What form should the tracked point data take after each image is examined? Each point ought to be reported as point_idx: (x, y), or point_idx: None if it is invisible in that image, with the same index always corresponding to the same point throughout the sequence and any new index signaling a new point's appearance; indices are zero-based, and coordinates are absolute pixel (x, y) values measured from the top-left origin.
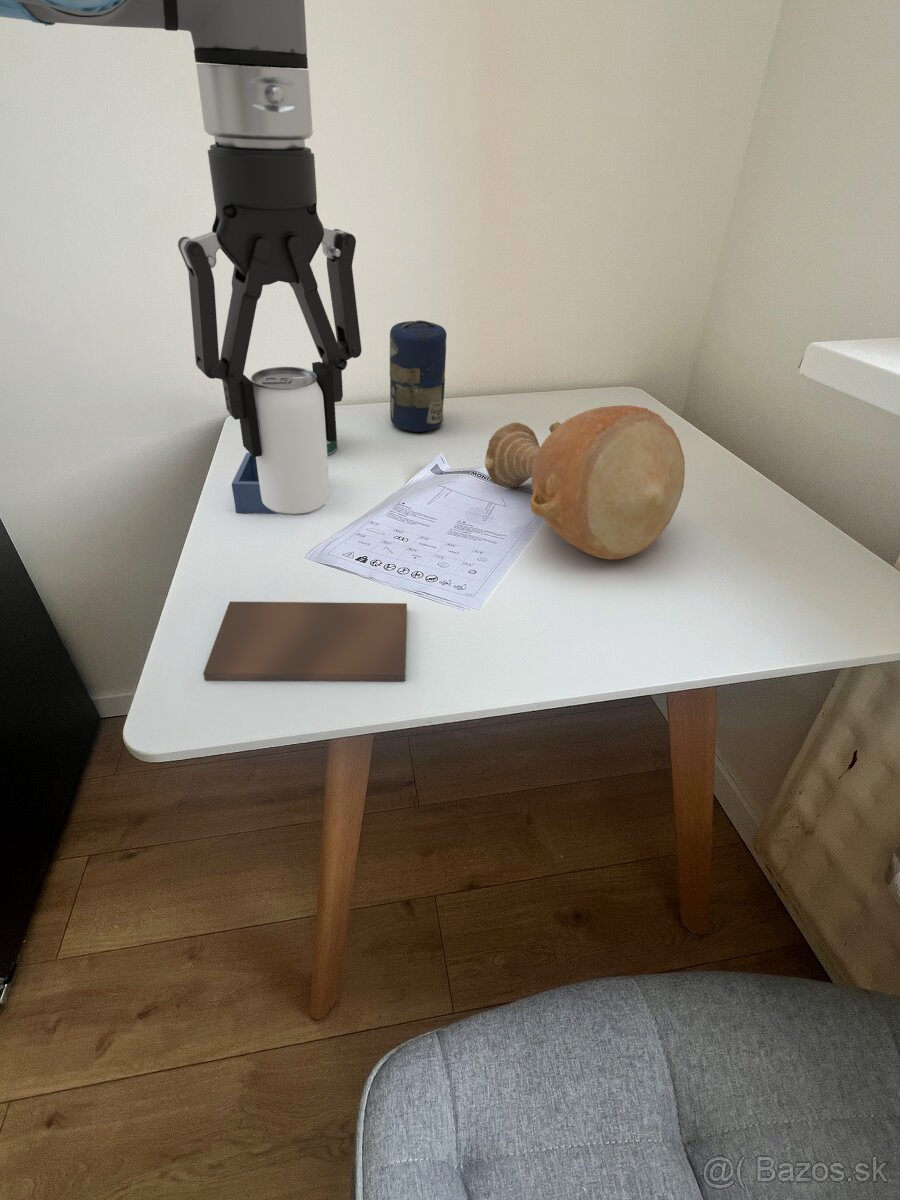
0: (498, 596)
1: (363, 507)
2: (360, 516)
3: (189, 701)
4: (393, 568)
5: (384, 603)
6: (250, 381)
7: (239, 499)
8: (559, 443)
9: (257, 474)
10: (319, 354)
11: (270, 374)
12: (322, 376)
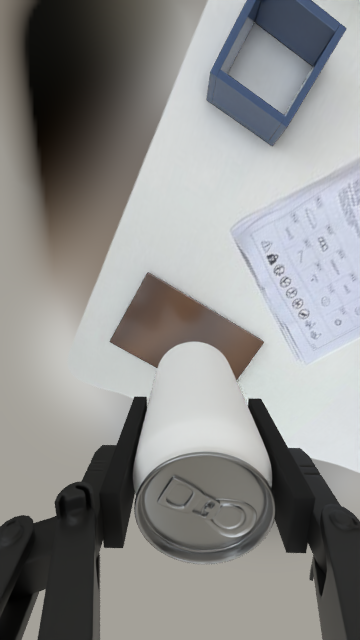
0: (330, 359)
1: (330, 162)
2: (315, 180)
3: (99, 352)
4: (286, 285)
5: (249, 334)
6: (120, 542)
7: (213, 91)
8: None
9: (262, 13)
10: (322, 525)
11: (192, 465)
12: (281, 527)
